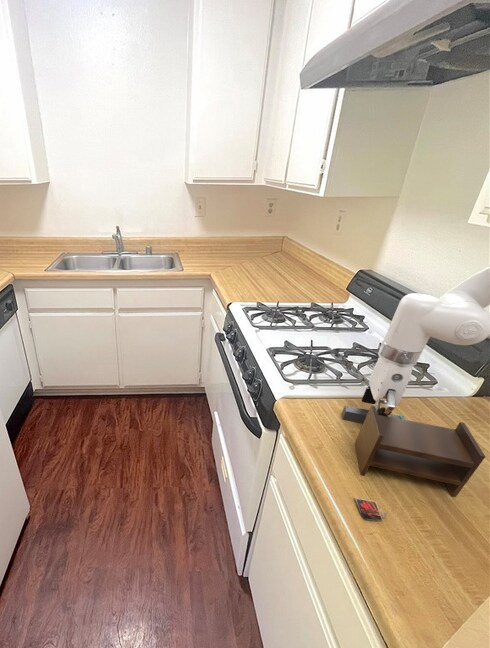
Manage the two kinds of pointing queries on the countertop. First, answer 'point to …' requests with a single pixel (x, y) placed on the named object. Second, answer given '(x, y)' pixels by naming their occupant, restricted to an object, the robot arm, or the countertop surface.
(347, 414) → the marker pen
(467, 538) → the countertop surface
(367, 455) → the desk shelf
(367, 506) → the matchbox
